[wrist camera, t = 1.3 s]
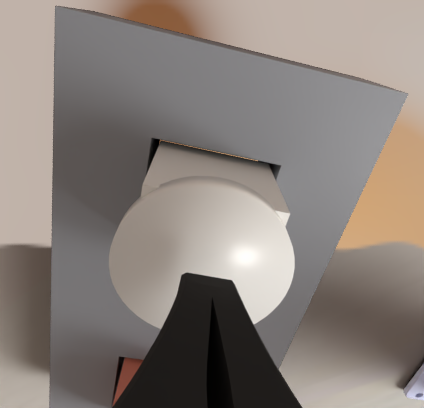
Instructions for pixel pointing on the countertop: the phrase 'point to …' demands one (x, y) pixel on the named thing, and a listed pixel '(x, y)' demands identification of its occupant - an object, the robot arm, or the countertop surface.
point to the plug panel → (197, 137)
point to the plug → (203, 232)
